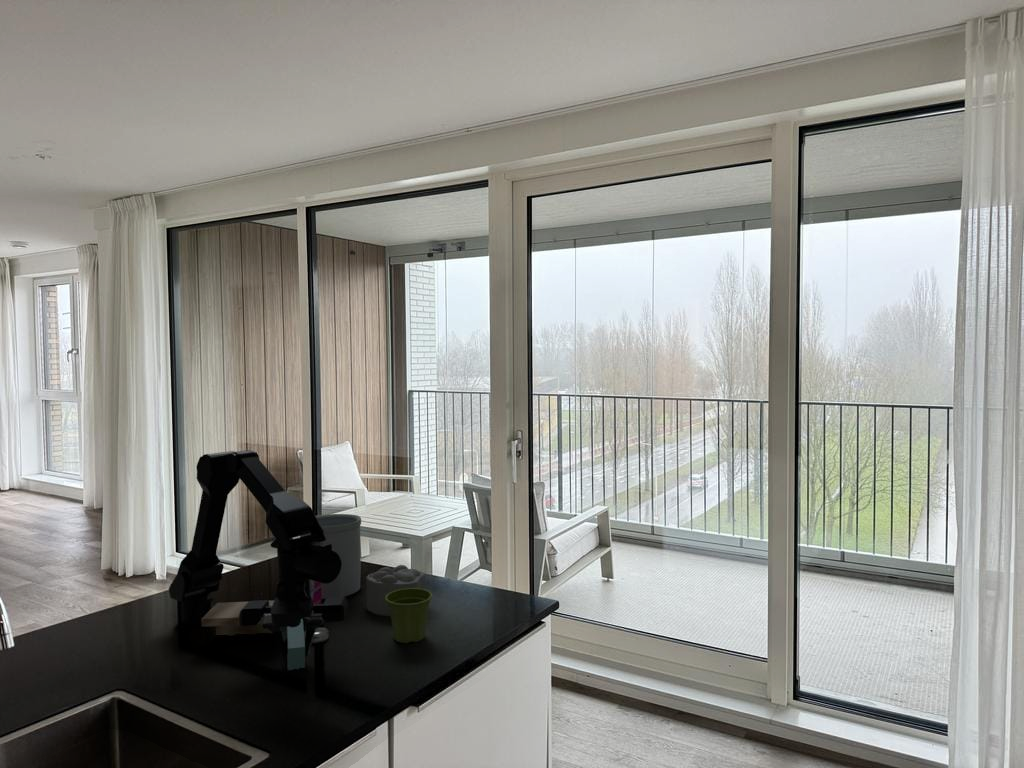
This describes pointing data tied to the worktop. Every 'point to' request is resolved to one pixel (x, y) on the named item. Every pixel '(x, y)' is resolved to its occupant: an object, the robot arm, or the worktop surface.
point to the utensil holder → (342, 552)
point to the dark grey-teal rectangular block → (296, 647)
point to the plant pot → (409, 613)
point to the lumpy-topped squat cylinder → (390, 586)
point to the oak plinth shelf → (231, 619)
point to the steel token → (319, 635)
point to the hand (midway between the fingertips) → (296, 656)
